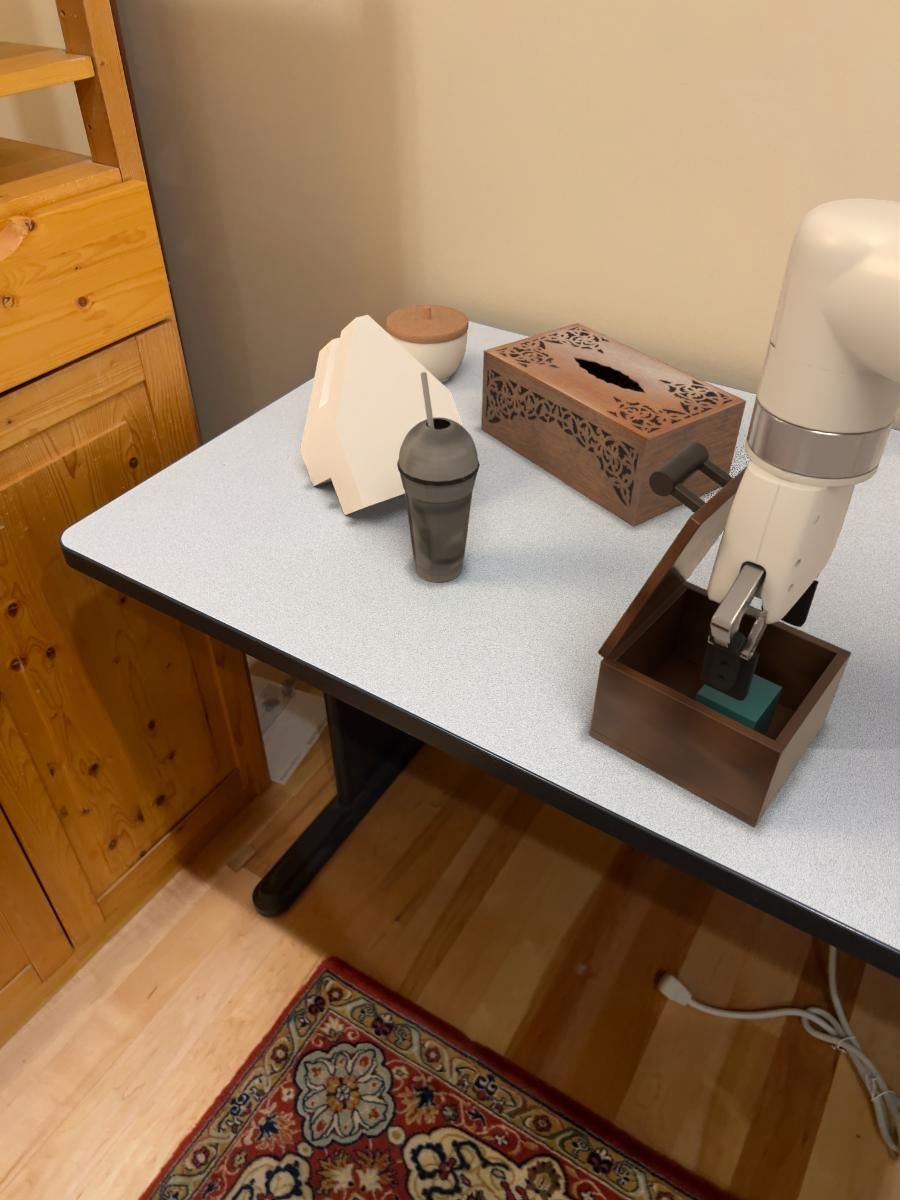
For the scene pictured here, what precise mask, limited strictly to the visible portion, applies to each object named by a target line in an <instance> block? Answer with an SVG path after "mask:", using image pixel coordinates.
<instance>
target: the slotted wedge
mask: <svg viewBox="0 0 900 1200" xmlns="http://www.w3.org/2000/svg"><path fill="white" fill-rule="evenodd" d="M317 356H318V358H317V362H316V368H315V372H314V377H313V384H312V388H311V393H310V398H309V403H308V408H307V413H306V418H305V424H304V428H303V432H302V437H301V444H300V449H299V452H300V454H301V456H302V459H303V462H304V465H305V467H306V471H307V473H308V475H309V478H310V480H311V483H312V486H313V487H316V486H319V485H323V484H326V483H329V482H332V485H333V488H334V490H335V493H336V496H337V499H338V501H339V504H340V506H341V509H342V511H343V514H344V516H347V515H349V514H352V513H354V512H358V511H360V510H362V509H365V508H367V507H368V508H369V507H370V506H373V505H376V504H380V503H383V502H384V501H388V500H391V499H393V498H397V497H399V496H401V495H405V490H404V488H403V485H402V481H401V476H400V472H399V471H398V466H397V463H398V459H399V452H400V448H401V446H402V443H403V441H404V439H405V437H406V435H407V433H408V432H409V431H410V430H411V429H412V428H413V427H414V426H415V425H417V424H418V423H419V422H422V421H424V420H426V419H427V416H426V409H425V402H424V395H423V388H422V381H421V373H422V372H426V373H427V379H428V387H429V394H430V401H431V408H432V415H433V418H436V417H440V418H447V419H450V420H453V421H455V422H457V423H459V424H460V425H461V426H463V427H464V424H463V421H462V419H461V416H460V413H459V410H458V407H457V405H456V402H455V399H454V395H453V393H452V392H451V390H450V389H448V388H447V386H445V385H444V383H441V382H440V381H439V380H438V379H436V378H435V377H434V376H433V375H432V374H431V373H430V372H429V371H428V370H427V369H426V368H425V367H424V366H423V365H421V364H420V363H419V362H418V361H417V360H416V359H415V358H414V357H413V356H412V355H411V354H410V353H409V352H407V351H406V350H405V349H404V348H403V347H402V346H401V345H400V344H399V343H398V342H397V341H396V340H395V339H394V338H392V337H391V336H390V335H389V334H388V333H387V330H385V329H384V328H383V327H382V326H381V325H379V324H378V322H377V321H376V320H374V319H373V318H372V317H371V316H370V315H369V314H365V315H360V316H356V317H354V319H353V320H352V321H351V322H349V323H348V324H347V325H346V326H345V327H344V328H343V329H342V330H341V331H340V335H339V337H337V338H333V339H331V340H330V341H328V342H327V344H326V345H325V346H323V348H321V349H320V350H319V352H318V355H317Z"/></svg>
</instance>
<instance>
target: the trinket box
mask: <svg viewBox="0 0 900 1200" xmlns="http://www.w3.org/2000/svg"><path fill="white" fill-rule="evenodd" d="M469 324H470V323H469V318H468V316H467V315H466V313H463V312H462V311H460V310H459V309H456V308H453V307H450V306H445V305H438V304H437V305H436V304H417V305H410V306H406V307H401V308H399V309H396V310H394V311H392V312H391V313H389V314H388V316H387V317H386V319H385V329H386V332H387V333H388V334H389V335H390V336H391V337H392V338H394V339H395V340H396V341H397V342H398V343H399V344H400V345H401V346H402V347H403V348H404V349H405V350H406V351H407V352H409V353H410V354H411V355H412V356H413V357H414V358H415V359H416V360H417V361H418V362H419V363H420V364H421V365H423V366H424V367H425V368H426V369H427V370H428V371H429V372H430V373H431V374H432V375H433V376H434V377H435V378H436V379H438V380H439V381H440V382H441V383H442V384H444V383H446V382H447V381H449V380H450V378H451V376H452V375H453V374H454V373H456V371H457V370H458V369H459V368H460V366H461V365H462V362H463V360H464V359H465V355H466V351H467V344H468V330H469Z"/></svg>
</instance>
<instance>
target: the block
mask: <svg viewBox="0 0 900 1200" xmlns="http://www.w3.org/2000/svg"><path fill="white" fill-rule="evenodd" d="M781 690H782V687H781V686H779V685H776V684H774V683H772V682H770V681H768V680H766V679H764V678H762V677H759V676H757V675H755V674H754V675H753V679H752V682H751V685H750V689H749V692H748V695H747V696H746V698H745V699H744V700H743V701H739V700H736V699H734V698H732V697H730V696H728V695H726V694H724V693H722V692H720V691H718V690H716V689H714V688H712V687H709V686H707V685H705V684H704V685H703V686H702V688H701V689H700V690H699V691H698V692H697V695H696V698H695V701H697V702H699V703H701V704H703V705H705V706H707V707H709V708H711V709H713V710H715V711H717V712H719V713H721V714H723V715H725V716H727V717H729V718H731V719H733V720H735V721H737V722H739V723H741V724H743V725H745V726H747V727H749V728H751V729H753V730H755V731H757V732H759V733H761V734H763V735H765V734H766V732H767V731H768V729H769V726H770V723H771V720H772V717H773V714H774V711H775V708H776V705H777V702H778V699H779V696H780V693H781Z"/></svg>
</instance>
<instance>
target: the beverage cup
mask: <svg viewBox="0 0 900 1200" xmlns="http://www.w3.org/2000/svg"><path fill="white" fill-rule="evenodd" d="M421 381H422V388H423V395H424V402H425V409H426V416H427V419H426V420H424V421H422V422H419V423H418V424H417V425H415V426H414V427H413V428H412V429H411V430H410V431H409V432H408V433H407V435H406V437H405V439H404V441H403V443H402V446H401V448H400V452H399V459H398V463H397V466H398V471H399V472H400V476H401V481H402V485H403V488H404V490H405V494H404V495H405V504H406V510H407V511H406V513H407V519H408V527H409V534H410V543H411V549H412V550H411V552H412V557H413V558H412V559H413V561H414V566H415V567H414V568H415V573H416V575H418V577H419V578H421V579H422V580H424V581H426V582H430V583H437V584H439V583H447V582H450V581H453V580H456V579H457V578H458V577H459V576H460V575H461V574H462V571H463V563H464V559H465V555H466V546H467V538H468V529H469V523H470V522H469V521H470V514H471V505H472V497H473V491H474V487H475V483H476V480H477V477H478V476H477V475H478V472H479V469H480V466H481V465H480V462H479V456H478V451H477V447H476V444H475V441H474V439H473V437H472V436H471V433H469V431H467V429H466V428H465V427H464V425H463V426H461V425H460V424H459V423H457V422H455V421H453V420H450V419H447V418H440V417H436V418H433V415H432V408H431V401H430V394H429V387H428V379H427V373H426V372H422V373H421Z"/></svg>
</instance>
